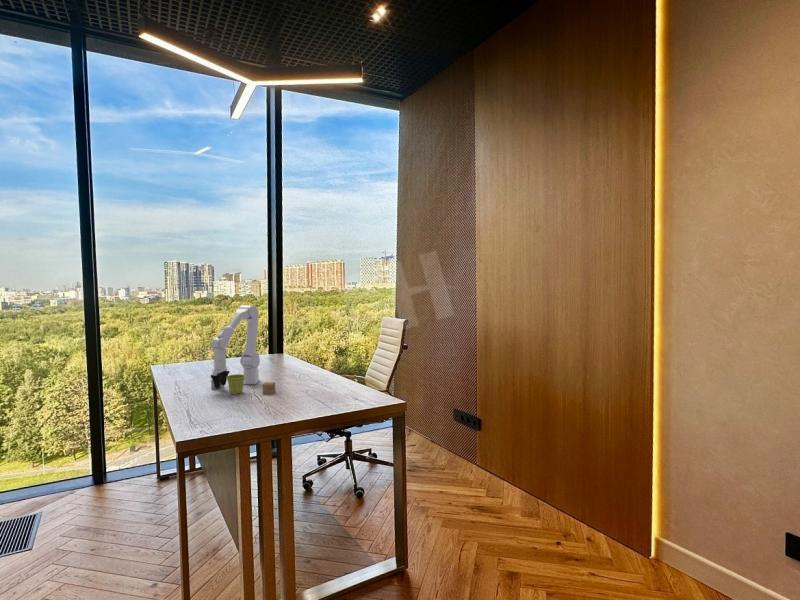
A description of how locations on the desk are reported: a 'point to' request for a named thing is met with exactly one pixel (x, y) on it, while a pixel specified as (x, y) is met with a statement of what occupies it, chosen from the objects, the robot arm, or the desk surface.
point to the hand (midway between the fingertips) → (220, 386)
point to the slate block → (214, 385)
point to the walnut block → (269, 387)
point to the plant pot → (235, 383)
